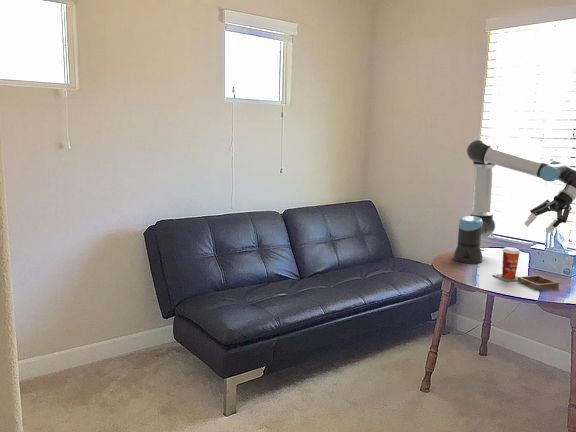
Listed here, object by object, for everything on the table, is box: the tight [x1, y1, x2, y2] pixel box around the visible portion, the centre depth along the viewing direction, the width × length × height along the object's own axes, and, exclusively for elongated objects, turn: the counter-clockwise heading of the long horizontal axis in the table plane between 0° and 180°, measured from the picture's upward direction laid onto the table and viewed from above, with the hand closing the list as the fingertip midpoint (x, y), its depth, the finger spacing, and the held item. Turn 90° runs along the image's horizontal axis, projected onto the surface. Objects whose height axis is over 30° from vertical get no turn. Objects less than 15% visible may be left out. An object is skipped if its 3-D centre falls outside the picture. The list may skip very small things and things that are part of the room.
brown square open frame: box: [516, 274, 560, 291], centre depth 226 cm, size 12×12×2 cm
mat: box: [491, 273, 519, 283], centre depth 235 cm, size 10×10×1 cm
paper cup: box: [501, 246, 521, 279], centre depth 234 cm, size 8×8×14 cm
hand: (536, 227), depth 234 cm, fingers open, 13 cm apart
